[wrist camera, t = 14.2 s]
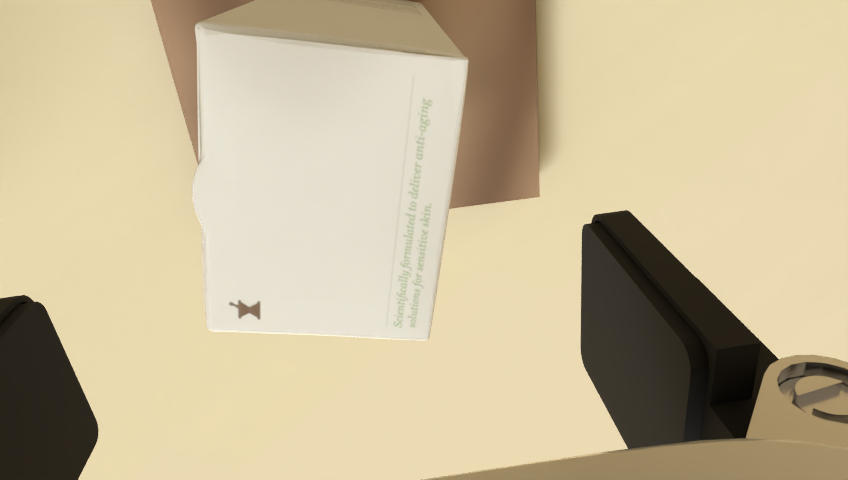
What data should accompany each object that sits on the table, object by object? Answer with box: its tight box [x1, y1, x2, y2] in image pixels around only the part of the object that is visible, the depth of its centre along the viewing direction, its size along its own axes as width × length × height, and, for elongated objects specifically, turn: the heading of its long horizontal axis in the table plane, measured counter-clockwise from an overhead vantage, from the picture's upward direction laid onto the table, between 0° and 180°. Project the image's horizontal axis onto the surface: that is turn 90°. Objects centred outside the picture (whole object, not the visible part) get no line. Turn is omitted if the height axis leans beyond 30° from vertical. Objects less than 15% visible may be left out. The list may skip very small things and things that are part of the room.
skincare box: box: [192, 0, 469, 341], centre depth 22 cm, size 8×7×16 cm
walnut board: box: [151, 0, 540, 209], centre depth 30 cm, size 17×15×2 cm
